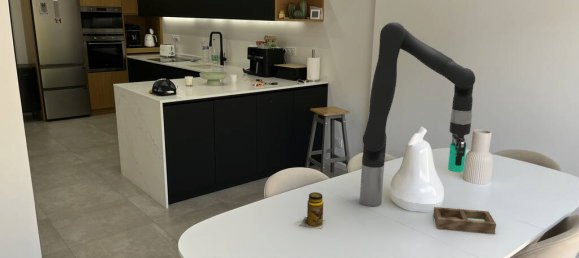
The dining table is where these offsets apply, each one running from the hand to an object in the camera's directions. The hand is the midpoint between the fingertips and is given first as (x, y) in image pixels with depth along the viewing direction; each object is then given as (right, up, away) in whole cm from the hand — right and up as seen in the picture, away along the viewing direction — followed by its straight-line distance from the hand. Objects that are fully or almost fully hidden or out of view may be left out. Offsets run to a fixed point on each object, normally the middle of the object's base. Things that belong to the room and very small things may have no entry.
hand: (456, 162), depth 174 cm
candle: (0, -3, +1) cm, 3 cm away
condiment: (-57, -23, -4) cm, 62 cm away
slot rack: (+1, -24, -4) cm, 24 cm away
